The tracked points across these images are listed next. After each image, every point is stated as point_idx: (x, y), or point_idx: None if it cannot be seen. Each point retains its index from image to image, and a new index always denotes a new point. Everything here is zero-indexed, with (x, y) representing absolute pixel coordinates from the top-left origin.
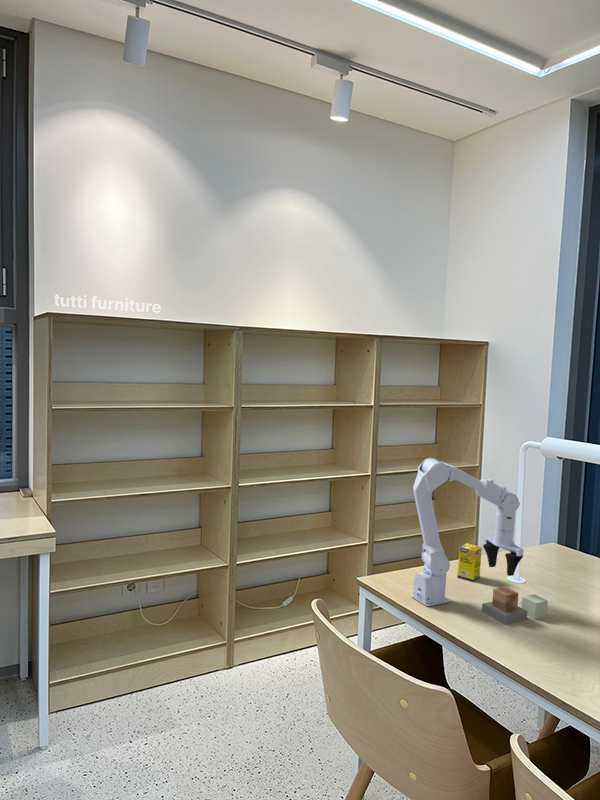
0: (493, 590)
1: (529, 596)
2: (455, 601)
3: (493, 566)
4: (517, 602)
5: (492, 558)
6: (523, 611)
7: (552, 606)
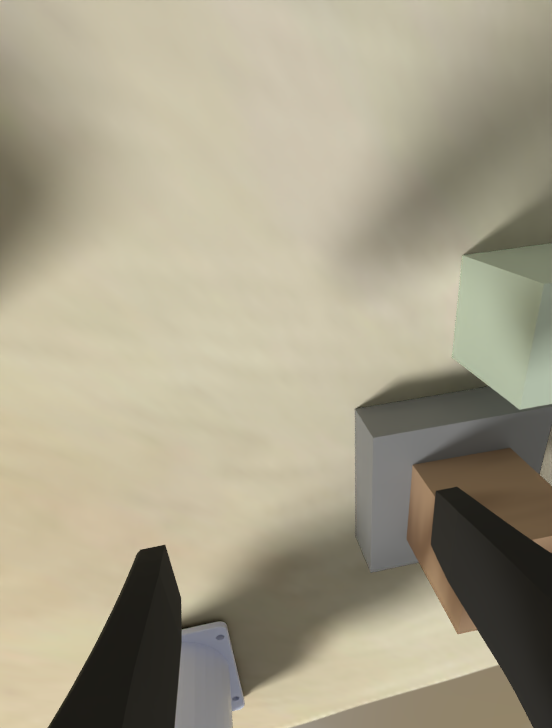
0: (453, 622)
1: (545, 355)
2: (218, 596)
3: (171, 571)
4: (540, 479)
5: (159, 705)
6: (544, 430)
7: (498, 32)
